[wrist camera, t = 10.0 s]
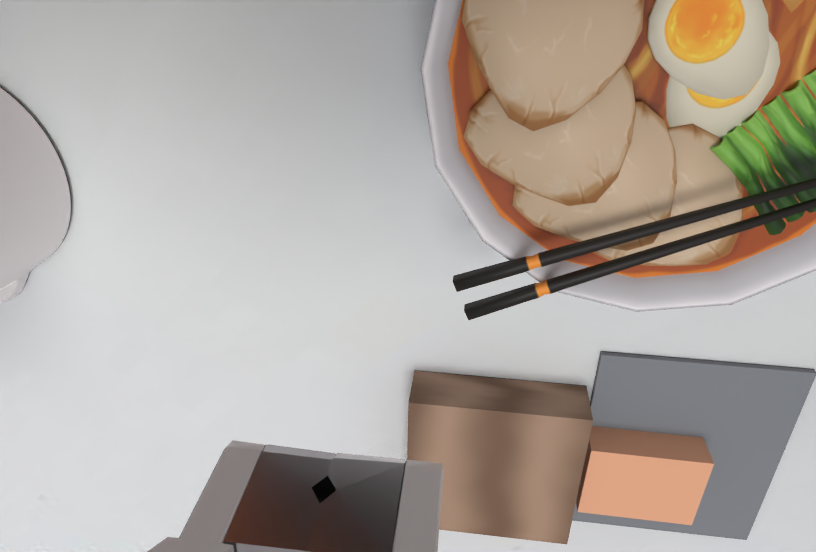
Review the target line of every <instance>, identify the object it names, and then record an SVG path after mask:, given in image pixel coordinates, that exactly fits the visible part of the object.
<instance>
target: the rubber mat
mask: <svg viewBox="0 0 816 552" xmlns="http://www.w3.org/2000/svg"><path fill="white" fill-rule="evenodd" d="M815 376H816V372H815V370H814V369H802V368H790V367H779V366H767V365H755V364H743V363H731V362H719V361H708V360H696V359H684V358H672V357H660V356H649V355H637V354H625V353H613V352H601V353H600V358H599V363H598V368H597V372H596V377H595V382H594V387H593V392H592V397H591V402H590V407H591V412H592V417H593V424H592V426H597V427H606V428H616V429H626V430H635V431H645V432H655V433H664V434H674V435H684V436H693V437H703V438H704V441H705V443H706V446H707V448H708V450H709V453H710V455H711V457H712V460H713V462H714V466H713V469H712V471H711V474H710V477H709V480H708V482H707V485H706V488H705V491H704V493H703V496H702V499H701V502H700V504H699V507H698V510H697V512H696V515H695V518H694V521H693V523H692V525H685V524H676V523H668V522H659V521H651V520H642V519H634V518H625V517H617V516H608V515H599V514H591V513H582V512H577V505H576V504H575V509H574V513H573V518H572V520H574V521H582V522H591V523H600V524H609V525H618V526H627V527H636V528H645V529H654V530H663V531H672V532H681V533H689V534H698V535H707V536H716V537H725V538H734V539H743V540H747V538H748V535H749V533H750V530H751V528H752V526H753V523H754V521H755V519H756V516H757V514H758V511H759V509H760V507H761V504H762V502H763V500H764V497H765V495H766V492H767V490H768V488H769V485H770V483H771V481H772V478H773V476H774V474H775V471H776V469H777V466H778V464H779V462H780V459H781V457H782V455H783V452H784V450H785V447H786V445H787V443H788V440H789V438H790V436H791V433H792V431H793V428H794V426H795V424H796V421H797V419H798V417H799V414H800V412H801V410H802V407H803V405H804V402H805V400H806V398H807V395H808V393H809V391H810V388H811V386H812V383H813V381H814V379H815Z"/></svg>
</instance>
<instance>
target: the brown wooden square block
mask: <svg viewBox="0 0 816 552" xmlns="http://www.w3.org/2000/svg"><path fill="white" fill-rule="evenodd" d="M592 424H593V417H592V412H591V407H590V402H589V397H588V392H587V388H586V386H579V385H568V384H557V383H546V382H535V381H524V380H513V379H502V378H491V377H480V376H469V375H458V374H447V373H436V372H424V371H415V372H414V377H413V382H412V388H411V393H410V398H409V412H408V457H407V460H415V461H425V462H435V463H442V464H443V483H442V496H441V510H440V523H439V529H440V530H449V531H457V532H466V533H474V534H483V535H492V536H500V537H509V538H517V539H526V540H535V541H543V542H552V543H560V544H567V541H568V537H569V532H570V527H571V523H572V518H573V513H574V509H575V504H576V499H577V494H578V490H579V485H580V480H581V476H582V471H583V466H584V461H585V457H586V452H587V447H588V443H589V438H590V433H591V428H592Z"/></svg>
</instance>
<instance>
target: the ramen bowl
mask: <svg viewBox="0 0 816 552" xmlns="http://www.w3.org/2000/svg"><path fill="white" fill-rule="evenodd" d="M421 75H422V82H423V88H424V95H425V102H426V108H427V115H428V121H429V128H430V134H431V141H432V147H433V154H434V160H435V167H436V168H437V170H438V171H439V173H440V174H441V176H442V178H443V179H444V181H445V182H446V184H447V185H448V187H449V189H450V190H451V192H452V193H453V195H454V197H455V198H456V200H457V201H458V203H459V204H460V206H461V208H462V209H463V211H464V212H465V214H466V215H467V217H468V219H469V220H470V222H471V223H472V225H473V226H474V228H475V230H476V231H477V233H478V234H479V236H480V238H481V239H482V241H483V242H485V243H486V244H488V245H489V246H490V247H492V248H493V249H494V250H496V251H497V252H499V253H500V254H501V255H503V256H504V257H506V258H507V259H508V260H510V261H507V262H503V263H499V264H495V265H492V266H488V267H484V268H481V269H477V270H473V271H470V272H466V273H462V274H458V275H455V276H453V283H454V286H455V288H456V291H457V292H458V291H461V290H465V289H468V288H471V287H475V286H478V285H482V284H485V283H489V282H492V281H495V280H499V279H502V278H506V277H509V276H513V275H516V274H520V273H523V272H526V273H528V274H529V275H531V276H532V277H533V278H535V279H536V280H537V281H539V282H540V283H534V284H531V285H528V286H524V287H521V288H518V289H514V290H511V291H508V292H505V293H501V294H498V295H495V296H491V297H488V298H485V299H481V300H478V301H475V302H472V303H468V304H465V308H464V311H465V313H466V315H467V318H468V320H471V319H474V318H477V317H480V316H483V315H486V314H489V313H492V312H495V311H499V310H502V309H505V308H508V307H511V306H514V305H517V304H520V303H523V302H526V301H529V300H532V299H536V298H539V297H541V296H542V295H544V294H551V293H554V292H559V293H563V294H567V295H571V296H575V297H579V298H583V299H588V300H592V301H596V302H600V303H604V304H608V305H612V306H616V307H620V308H624V309H628V310H632V311H636V312H638V311H652V310H666V309H679V308H693V307H706V306H720V305H731V304H734V303H736V302H739V301H741V300H744V299H746V298H749V297H751V296H754V295H756V294H759V293H761V292H764V291H766V290H768V289H771V288H773V287H776V286H778V285H781V284H783V283H786V282H788V281H791V280H793V279H796V278H798V277H801V276H803V275H806V274H808V273H810V272H813V271H815V270H816V0H435V4H434V8H433V13H432V18H431V22H430V27H429V32H428V36H427V41H426V46H425V51H424V55H423V60H422V65H421Z"/></svg>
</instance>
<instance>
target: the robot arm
mask: <svg viewBox="0 0 816 552" xmlns="http://www.w3.org/2000/svg"><path fill="white" fill-rule="evenodd" d="M70 213H71V200H70V192H69V186H68V182H67V178H66V175H65V172H64V169H63V166H62V164H61V161H60V159H59V157H58V155H57V153H56V151H55V149H54V147H53V145H52V144H51V142H50V140H49V139H48V137H47V136H46V134H45V133H44V131H43V130H42V129H41V127H40V126H39V125H38V123H37V122H36V121H35V120H34V118H33V117H32V116H31V115H30V114H29V113H28V112H27V111H26V110H25V109H24V108H23V107H22V106H21V105H20V104H19V103H18V102H17V101H16V100H15V99H14V98H13V97H12V96H11V95H9V94H8V93H7V92H6V91H4V90H3V89H2V88H0V302H5V301H8V300H10V299H11V298H13V297H15V296H17V295H18V294H19V293H20V292H21V291H22V289H23V287H24V285H25V283H26V281H27V278H28V275H29V272H30V271H31V270H32V269H33V268H34V267H35V266H37V265H38V264H40V263H41V262H43V261H44V260H46V259H47V258H48V257H50V256H51V255H52V254H53V253H54V252H55V251H56V250H57V248H58V247H59V246H60V244H61V243H62V241H63V239H64V237H65V235H66V232H67V230H68V226H69V221H70ZM442 483H443V464H442V463H435V462H425V461H415V460H407V462H406V460H405V459H395V458H384V457H374V456H364V455H353V454H343V453H337V454H336V453H328V452H321V451H313V450H306V449H298V448H291V447H283V446H276V445H263V444H256V443H248V442H241V441H232V442H231V443H230V444H229V445H228V446H227V447H226V448H225V449H224V451H223V453H222V455H221V457H220V459H219V460H218V462H217V464H216V466H215V468H214V470H213V472H212V474H211V476H210V478H209V480H208V482H207V484H206V486H205V488H204V490H203V492H202V494H201V496H200V498H199V500H198V502H197V504H196V505H195V507H194V509H193V511H192V513H191V515H190V517H189V519H188V521H187V523H186V525H185V527H184V529H183V531H182V533H181V535H180V537H179V538H174V537H167V538H166V539H164V540H163V541H161V542H160V543H159V544H157V545H156V546H154V547H153V548H152V549H150V550H149V551H147V552H437V550H438V536H439V523H440V510H441V496H442Z"/></svg>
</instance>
